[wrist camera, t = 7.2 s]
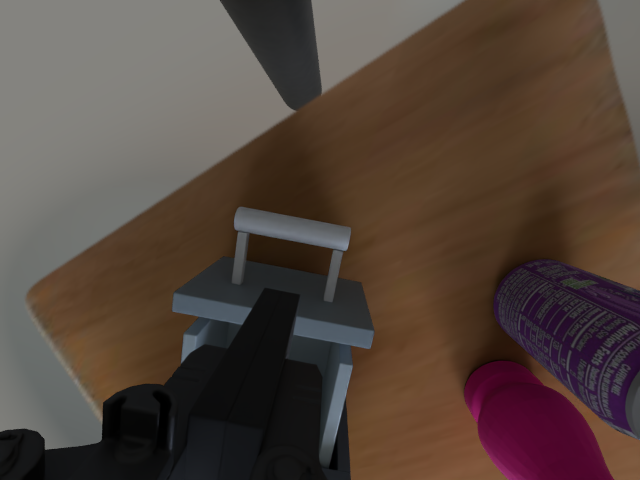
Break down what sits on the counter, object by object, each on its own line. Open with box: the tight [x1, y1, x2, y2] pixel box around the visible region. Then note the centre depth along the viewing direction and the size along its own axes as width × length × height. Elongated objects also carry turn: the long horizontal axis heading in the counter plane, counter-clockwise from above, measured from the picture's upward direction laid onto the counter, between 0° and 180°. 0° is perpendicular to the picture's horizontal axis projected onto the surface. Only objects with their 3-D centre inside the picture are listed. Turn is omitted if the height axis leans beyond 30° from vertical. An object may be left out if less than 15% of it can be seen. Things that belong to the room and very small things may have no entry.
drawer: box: [172, 207, 375, 469], centre depth 21 cm, size 18×11×8 cm, turn 169°
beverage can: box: [493, 259, 640, 440], centre depth 19 cm, size 7×7×12 cm
